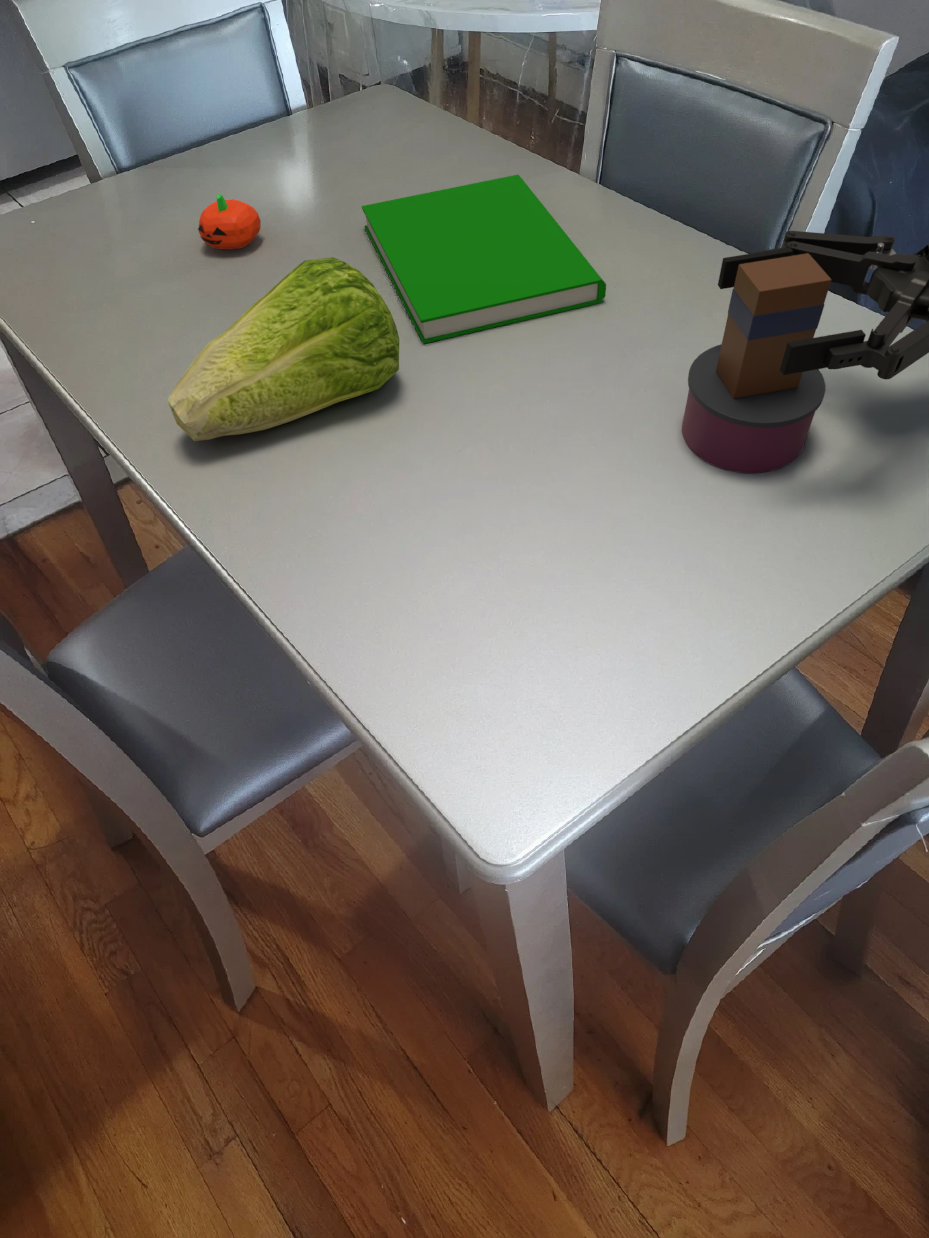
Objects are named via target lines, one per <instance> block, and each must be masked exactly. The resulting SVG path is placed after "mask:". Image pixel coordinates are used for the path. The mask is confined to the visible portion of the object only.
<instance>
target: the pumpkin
mask: <svg viewBox="0 0 929 1238" xmlns="http://www.w3.org/2000/svg"><path fill="white" fill-rule="evenodd" d="M261 222H262V221H261V218H260V215H259V212H257V210H256V208H255V207H254V206H252V205H250V204H248V203H246V202H243V201H241V200H238V199H235V198H233V199H225V197H224V196H223V195H222V194H221V193H220V194H216V200H215V201H214V202H212V203H211V204H209V205H208V206H206V207H205V208H204V209H203V211H202V212H201V213H200V216H199V220H198V228H197V230H198V234H199V237H200V238H201V240H202V241H203V242H204V243H205V244H206V245H208V246H210V247H211V248H214V249H217V250H218V249H219V250H233V249H234V250H235V249H237V250H238V249H243V248H245V247H246V246H248V245H250V243H252V242H254V239H255V238H256V237H257V236H258V234H259V233H260V231H261V224H262V223H261Z"/></svg>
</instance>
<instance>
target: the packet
mask: <svg viewBox="0 0 929 1238" xmlns="http://www.w3.org/2000/svg"><path fill="white" fill-rule="evenodd" d="M831 283H832V282H831V278H830V277H829V276H828V275H827V274H826V273H825V272H824V270H823V269H822V268H821V267H820V266H819V265H818V264H817V263H816V261H815V260H814V259H813V258H812V257H811V256H810V255H809V254H808V253H807V254H801V255H794V256H788V257H782V258H776V259H770V260H763V261H757V262H751V263H745V264H739V266H738V271H737V276H736V280H735V285H734V287H733V288H732V291H731V295H730V300H729V304H728V309H727V318H726V322H725V326H724V331H723V335H722V341H721V344H722V345H721V350H720V354H719V359H718V363H717V368H716V372H717V374H718V375H719V377H720V378H721V380H722V382H723V383H724V385H725V386H726V388H727V389H728V391H729V392H730V394H731V396H732V397H733V399H735V398H741V397H747V396H753V395H758V394H764V393H770V392H775V391H781V390H787V389H792V388H798V386H799V383H800V380H801V376H802V373H803V372H799V373H794V374H788V375H783V374H782V372H781V371H780V367H781V364H782V360H783V357H784V353H785V350H786V346H787V343H788V342H793V341H798V340H804V339H810V338H815V334H816V331H817V329H818V327H819V324H820V321H821V318H822V315H823V311H824V308H825V303H826V299H827V296H828V294H829V293H828V292H829V289H830V285H831Z"/></svg>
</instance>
